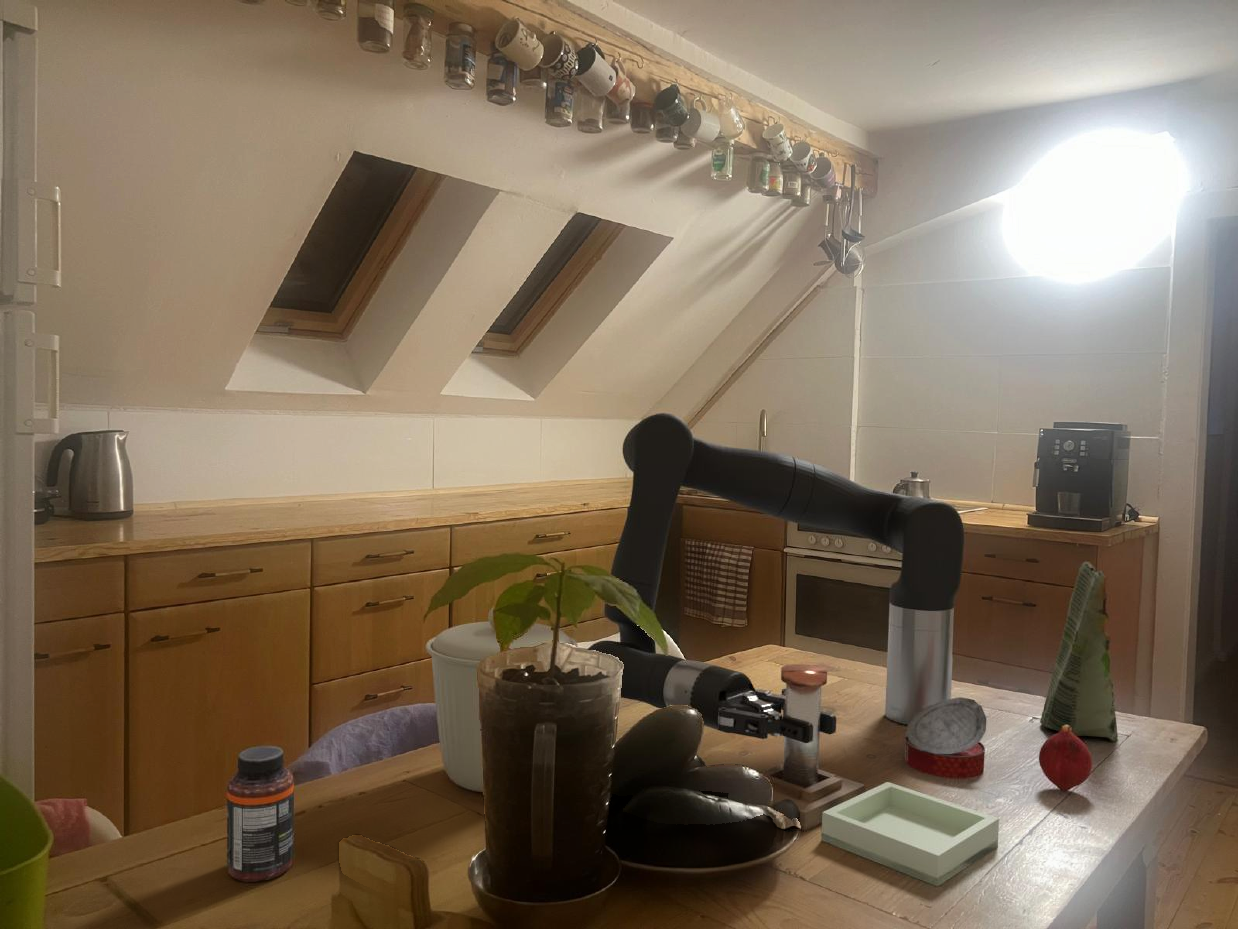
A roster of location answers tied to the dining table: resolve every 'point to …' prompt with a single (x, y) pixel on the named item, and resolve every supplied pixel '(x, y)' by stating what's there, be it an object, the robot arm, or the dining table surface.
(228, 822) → the supplement bottle
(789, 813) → the brown socket base
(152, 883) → the dining table surface
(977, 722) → the canned food
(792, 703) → the pin
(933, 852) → the tray
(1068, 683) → the pouch
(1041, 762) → the onion
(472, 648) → the canister
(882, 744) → the dining table surface
